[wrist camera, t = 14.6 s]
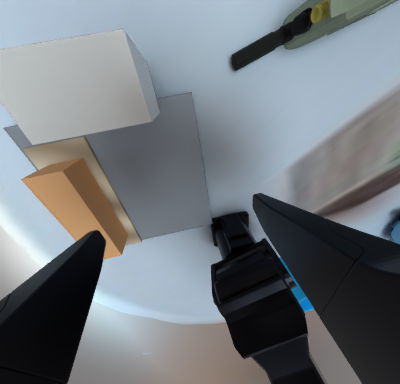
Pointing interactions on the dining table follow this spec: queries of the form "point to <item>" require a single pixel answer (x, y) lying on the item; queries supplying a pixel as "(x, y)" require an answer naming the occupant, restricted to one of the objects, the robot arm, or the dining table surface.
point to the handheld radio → (309, 26)
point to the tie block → (76, 86)
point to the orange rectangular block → (78, 202)
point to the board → (153, 168)
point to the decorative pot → (396, 232)
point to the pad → (82, 149)
